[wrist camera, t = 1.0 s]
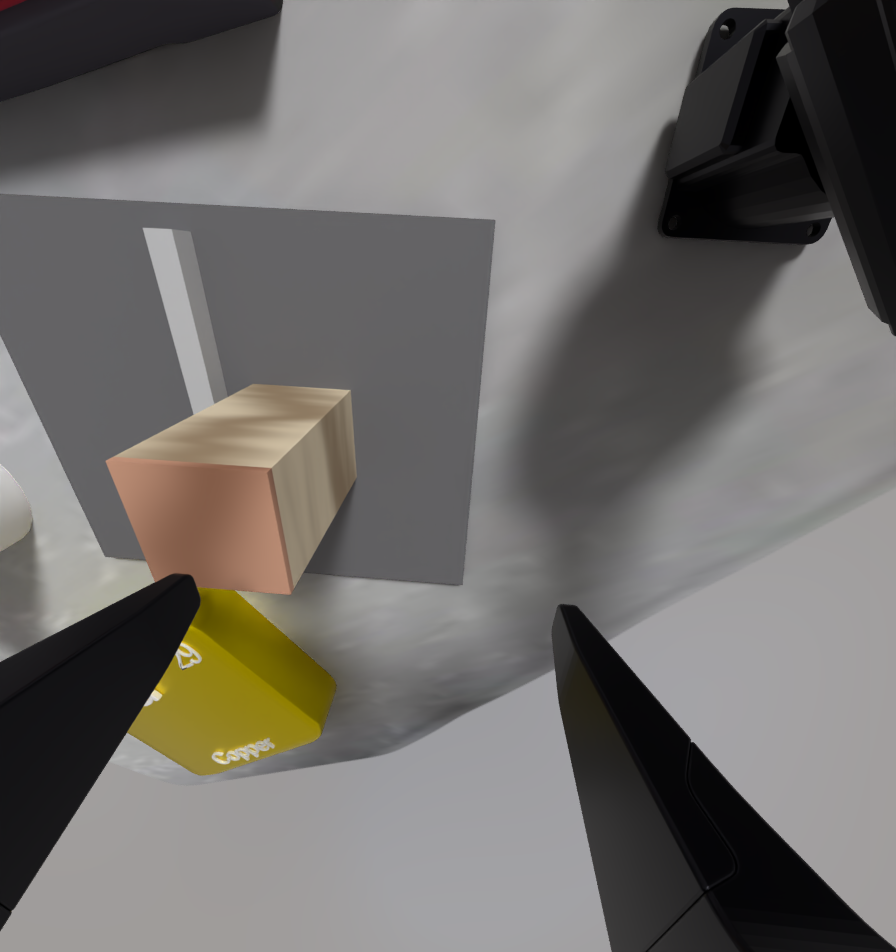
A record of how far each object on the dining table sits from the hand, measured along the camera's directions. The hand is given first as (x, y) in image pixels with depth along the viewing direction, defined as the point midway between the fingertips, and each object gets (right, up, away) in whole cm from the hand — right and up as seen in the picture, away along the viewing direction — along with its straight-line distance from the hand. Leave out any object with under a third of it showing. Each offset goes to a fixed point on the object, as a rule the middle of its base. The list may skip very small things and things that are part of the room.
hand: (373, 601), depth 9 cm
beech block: (-6, +5, +11) cm, 14 cm away
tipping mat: (-9, +6, +12) cm, 16 cm away
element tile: (-17, -12, +23) cm, 31 cm away
